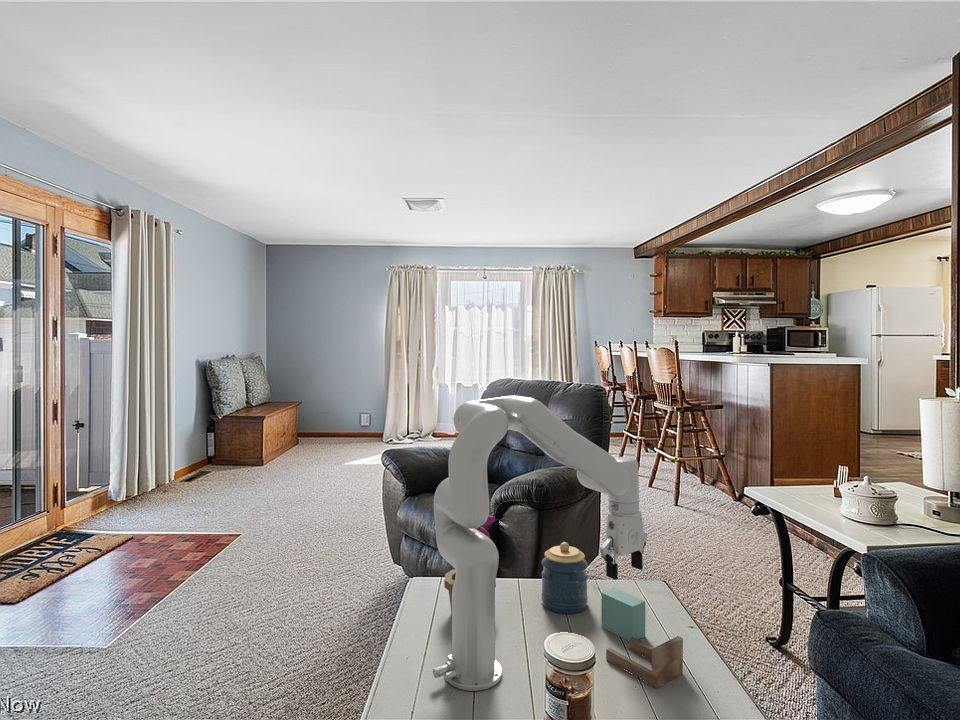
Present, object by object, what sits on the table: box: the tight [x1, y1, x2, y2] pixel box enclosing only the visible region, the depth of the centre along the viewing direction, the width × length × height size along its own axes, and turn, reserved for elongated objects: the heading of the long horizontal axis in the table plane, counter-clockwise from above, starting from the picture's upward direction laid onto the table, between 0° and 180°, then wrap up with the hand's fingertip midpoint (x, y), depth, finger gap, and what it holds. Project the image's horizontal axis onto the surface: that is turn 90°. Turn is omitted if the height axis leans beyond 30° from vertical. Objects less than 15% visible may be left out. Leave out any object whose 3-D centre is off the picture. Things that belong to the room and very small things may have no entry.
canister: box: [541, 541, 589, 615], centre depth 159 cm, size 13×13×18 cm
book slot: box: [605, 635, 684, 689], centre depth 127 cm, size 9×14×8 cm
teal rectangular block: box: [600, 587, 646, 641], centre depth 143 cm, size 5×10×9 cm, turn 36°
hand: (624, 572), depth 143 cm, fingers open, 9 cm apart
